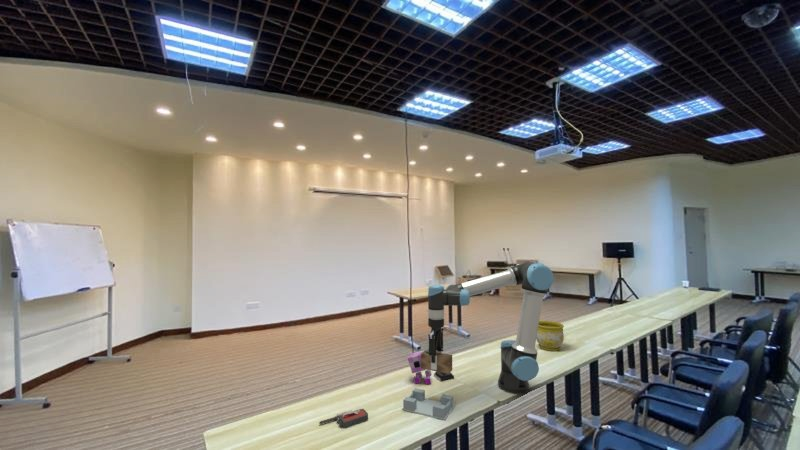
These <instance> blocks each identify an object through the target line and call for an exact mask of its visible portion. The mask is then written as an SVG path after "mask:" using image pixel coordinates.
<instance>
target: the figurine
mask: <svg viewBox="0 0 800 450" xmlns="http://www.w3.org/2000/svg"><path fill="white" fill-rule="evenodd" d="M434 372H435V373H433V377H434V378H435V379H437V380H438V381H439V382H445V381H450V380H455V375H454V374H453V373H452V372H450V373H449V374H447V373H442V372H437V371H434Z"/></svg>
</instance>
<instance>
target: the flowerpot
mask: <svg viewBox="0 0 800 450" xmlns="http://www.w3.org/2000/svg"><path fill="white" fill-rule="evenodd" d="M564 339H565V335H564V324H563V323H561V322H557V321H552V320H539V325H538V331H537V337H536V342H537V343H538V344H537V346H538V347H539V348H540V349H542V350H544V351H549V352H557V351H560V349H561V348H562V345H563V343H564V341H565V340H564Z"/></svg>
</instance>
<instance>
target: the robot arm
mask: <svg viewBox="0 0 800 450" xmlns="http://www.w3.org/2000/svg"><path fill="white" fill-rule="evenodd" d="M554 280H555V278H554V273H553V271H552V270H551V268H550V267H549V266H547V265H545V264H543V263H540V262H534V261H526V262H523V263H519V264H516V265H513V266H510V267H508V268H507V270H504V271H500V272H497V273H492V274H488V275H486V276H482V277H479V278H475V279H471V280H468V281H464V282H461V283H457V284H449V285H448V286H447V287H445V286H444V285H442V284H431V285H429V286H428V289H427V290H428V293H427V297H428V298H427V304H428V305H427V307H428V308H427V313H428V314H427V315H428V322H427V323H428V327H429V328H431V330H430V333H428V349H429V355H431V369H433V370H437V355H436V352H437V353H443V352H444V326H445V306H447V307H448V306H456V307H457V306H458V307H463V306H469V304H470V301H471V300H470V299H471V296H476V295H479V294H483V293H487V292H491V291H494V290H497V289H501V288H505V287H508V286H511V285H512V286H519V285H520V286H521V288H520V289H521V290H522V292H523V297H522V302H521V303H522V304H521V309H520V315H519V320H518V321H519V322H518V326H517V333H516V337H515V340H512V339H507V340H502V341H501V343H500V363H501V365H500V367H501V368H500V373H499V377H498V380H497V387H498V388H499V389H500V390H502V391H504V392H507V393H509V394H510V393H511V394H524V393H527V392H529V391H530V383H529V381H532V380H533V379H534V378H537V377H536V376H537V375H538V374H539V370H540V369H539V367H540V366H539V364H538V361H537V359H538V352H539V351H538V350H537V349H536V342H537V340H536V337H537V331H538V325H539V321H540V318H541V312H542V305H543V299H544V297H546V296H547V295H548V291H549V289H550V287H551V286H552V285H553V284H554Z"/></svg>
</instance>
